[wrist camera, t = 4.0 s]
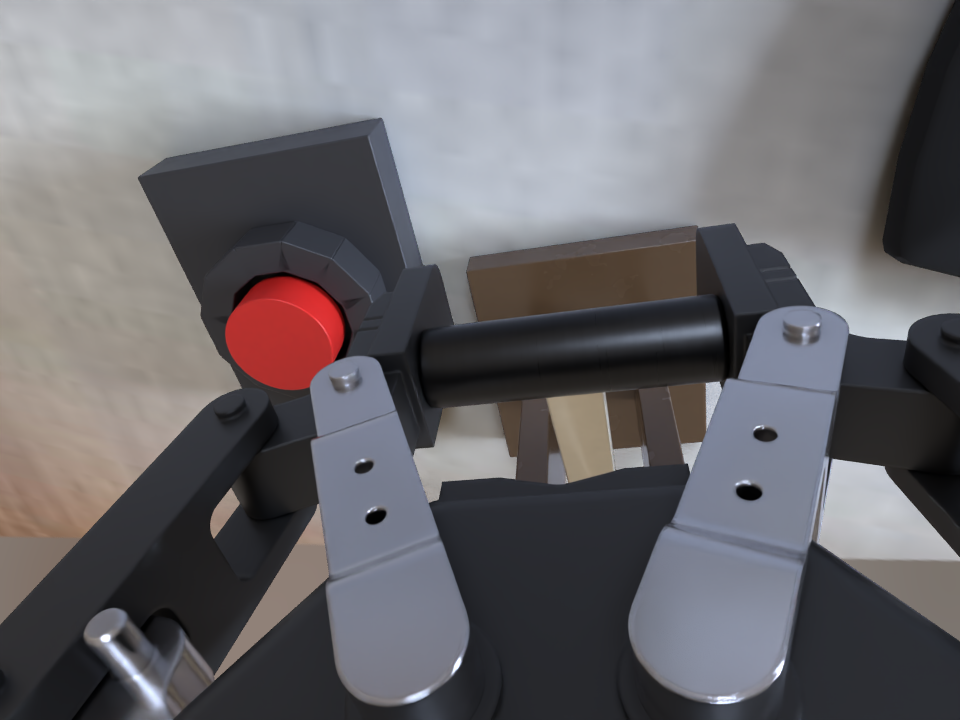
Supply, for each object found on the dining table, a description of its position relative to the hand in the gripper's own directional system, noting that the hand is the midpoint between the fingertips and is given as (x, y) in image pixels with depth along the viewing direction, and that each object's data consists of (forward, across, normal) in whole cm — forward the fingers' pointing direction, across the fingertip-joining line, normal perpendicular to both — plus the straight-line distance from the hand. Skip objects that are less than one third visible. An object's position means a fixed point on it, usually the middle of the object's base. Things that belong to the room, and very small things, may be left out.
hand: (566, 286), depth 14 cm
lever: (0, 0, +5) cm, 5 cm away
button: (+8, +11, +4) cm, 14 cm away
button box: (+12, +11, +4) cm, 17 cm away
